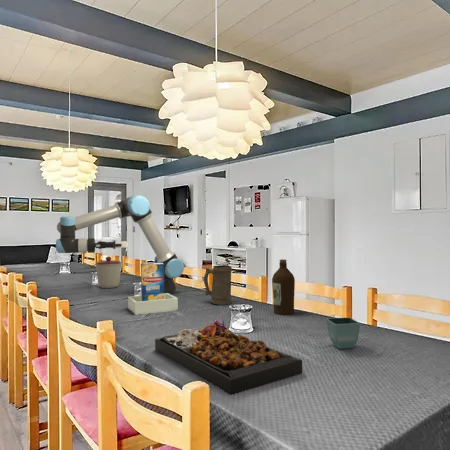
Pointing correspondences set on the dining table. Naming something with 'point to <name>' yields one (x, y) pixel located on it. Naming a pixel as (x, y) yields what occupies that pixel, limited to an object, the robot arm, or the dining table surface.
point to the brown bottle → (283, 290)
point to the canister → (108, 273)
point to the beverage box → (152, 281)
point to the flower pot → (343, 332)
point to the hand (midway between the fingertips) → (127, 244)
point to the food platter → (227, 358)
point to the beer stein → (219, 284)
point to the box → (152, 305)
